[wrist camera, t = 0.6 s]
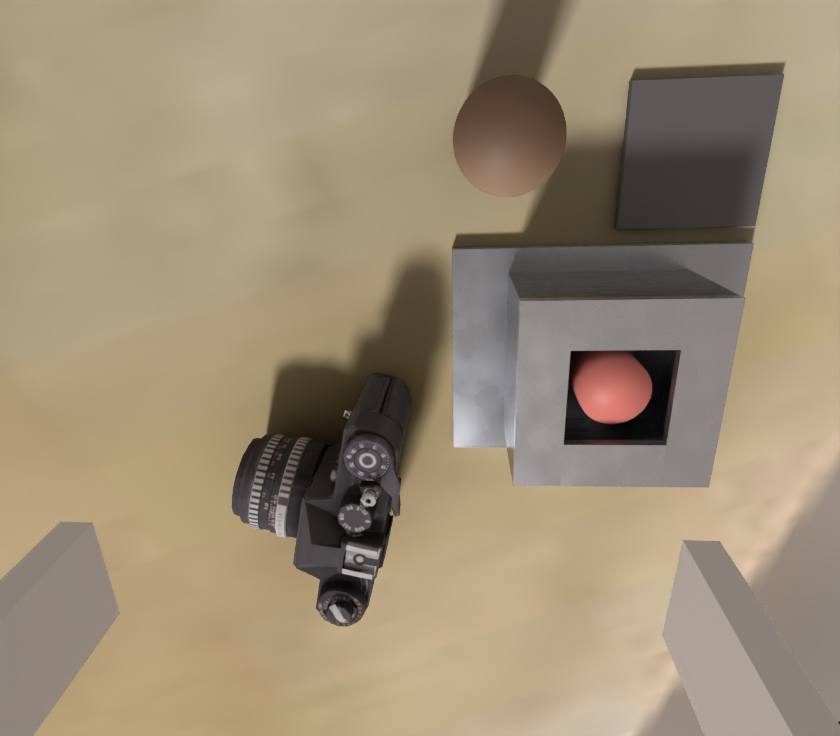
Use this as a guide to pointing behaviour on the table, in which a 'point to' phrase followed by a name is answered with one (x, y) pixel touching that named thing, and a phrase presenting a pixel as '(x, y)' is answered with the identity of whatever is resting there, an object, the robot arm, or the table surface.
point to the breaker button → (609, 384)
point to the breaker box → (596, 331)
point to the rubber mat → (696, 151)
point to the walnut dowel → (509, 136)
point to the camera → (333, 496)
